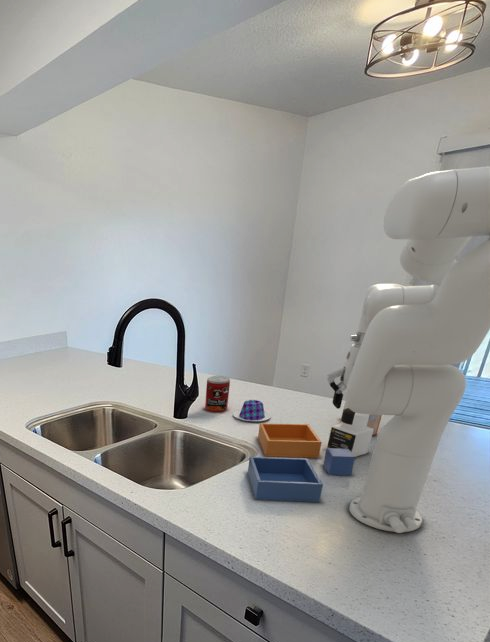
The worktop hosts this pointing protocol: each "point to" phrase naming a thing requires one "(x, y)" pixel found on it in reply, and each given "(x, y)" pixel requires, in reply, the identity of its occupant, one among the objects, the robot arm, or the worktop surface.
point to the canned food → (217, 393)
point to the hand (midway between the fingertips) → (356, 407)
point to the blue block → (338, 461)
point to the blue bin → (284, 479)
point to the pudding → (252, 411)
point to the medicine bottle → (351, 433)
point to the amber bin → (289, 440)
